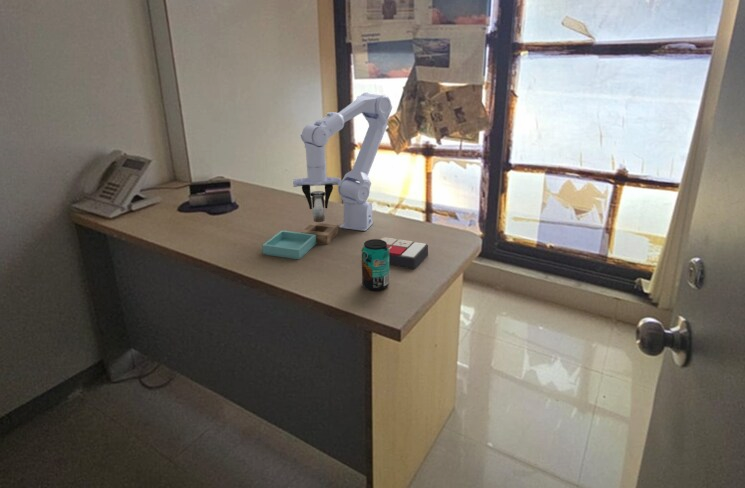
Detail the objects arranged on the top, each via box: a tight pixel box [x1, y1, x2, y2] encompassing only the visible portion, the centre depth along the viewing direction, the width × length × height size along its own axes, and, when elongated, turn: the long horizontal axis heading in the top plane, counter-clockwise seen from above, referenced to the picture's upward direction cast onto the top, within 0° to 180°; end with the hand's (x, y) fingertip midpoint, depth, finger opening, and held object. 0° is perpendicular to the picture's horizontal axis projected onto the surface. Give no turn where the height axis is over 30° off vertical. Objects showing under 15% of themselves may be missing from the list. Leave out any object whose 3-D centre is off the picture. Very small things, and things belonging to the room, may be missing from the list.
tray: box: [261, 229, 318, 260], centre depth 148 cm, size 12×12×3 cm
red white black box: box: [380, 236, 429, 270], centre depth 142 cm, size 11×4×15 cm
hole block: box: [300, 221, 339, 245], centre depth 156 cm, size 9×9×3 cm
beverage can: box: [361, 238, 390, 292], centre depth 124 cm, size 7×7×12 cm
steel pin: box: [310, 190, 326, 223], centre depth 152 cm, size 4×4×9 cm
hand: (318, 207), depth 152 cm, fingers closed on steel pin, 4 cm apart
